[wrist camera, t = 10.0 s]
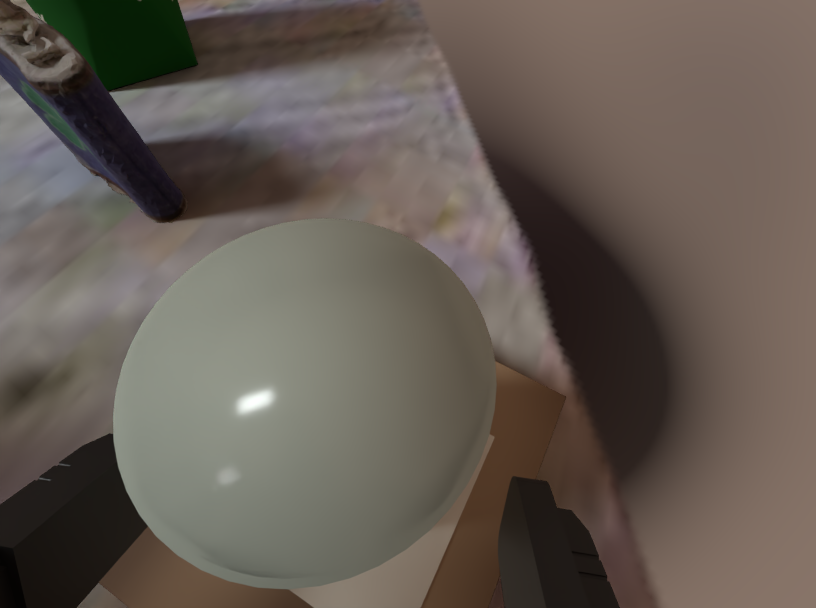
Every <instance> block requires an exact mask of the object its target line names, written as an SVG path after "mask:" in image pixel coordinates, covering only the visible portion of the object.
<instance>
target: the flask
mask: <svg viewBox="0 0 816 608" xmlns="http://www.w3.org/2000/svg"><path fill="white" fill-rule="evenodd" d="M0 75H1V76H2V77H3V78H4V79H5V80H6V81H7V82H8V83H9V84H10V85H11V86H12V88H13V89H14V90H15V91H16V92H17V93H18V94H19V95H20V96H21V97H22V98H23V99H24V100H25V101H26V102H27V104H28V105H29V106H30V107H31V108H32V109H33V110H34V111H35V112H36V114H37V115H38V116H39V117H40V118H41V119H42V120H43V121H44V122H45V124H46V125H47V126H48V127H49V128H50V129H51V130H52V131H53V132H54V134H55V135H56V136H57V137H58V138H59V139H60V140H61V141H62V142H63V143H64V145H65V146H66V147H67V148H68V149H69V150H70V151H71V152H72V153H73V154H74V155H75V157H76V158H77V160H78V161H79V162H80V163H81V164H82V165H83V166H85V167H86V168H87V169H88V170H89V171H90V172H91V174H93V175H94V176H96V174H97V175H98V176H100V177H101V178H103V179H104V180H106V182H107V183H108V186H109V187H111V188H112V190H114V191H116V192H117V193H120V194H125V195H128V196H129V198H130V202H133V203H136V204H137V205H138V206H139V207H140V208H141V211H143V212H144V213H145V215H146V216H147V217H149V218H150V219H151V220H152V221H153V222H169V223H172V222H173V221H174V220H175V219H177V218H178V217H180V216H181V215H183V214H184V212H185V211H186V209H187V208H188V206H187V200H186V199H185V197H184V194H183V193H182V191H180V189H178V188H177V187H176V185H175V184H174V182H173V181H172V180H171V179H170V178H169V177H168V175H167V173H166V172H165V171H164V170H163V168H162V167H161V166H160V164H159V163H158V161H157V160H156V159H155V157H154V155H153V154H152V153H151V151H150V150H149V148H148V147H147V146H146V144H145V143H144V142H143V140H142V139H141V137H140V135H139V134H138V133H137V131H136V130H135V129H134V127H133V126H132V125H131V123H130V122H129V121H128V119H127V118H126V116H125V115H124V114H123V112H122V111H121V109H120V108H119V106H118V105H117V104H116V102H115V101H114V100H113V98H112V96H111V95H110V94H109V92H108V91H107V90H106V88H105V87H104V85H103V84H102V82H101V81H100V79H99V78H98V76H97V75H96V73H95V72H94V70H93V69H92V67H91V66H90V64H89V63H88V62H87V60H86V59H85V58H84V57H83V56H82V54H81V53H80V52H79V51H78V50H77V49H76V48H75V47H74V45H73V44H72V43H71V42H70V41H69V40H68V39H67V38H66V37H65V36H64V35H63V34H61V33H60V32H59V31H57V30H56V29H54V28H53V26H51V25H48V24H47V23H45V22H44V21H42V20H40V19H38V18H35V17H33V16H32V15H30V14H29V13H28V12H27V11H26V10H25V9H23V8H21V7H19V6H17V5H15V4H13V3H12V2H11V1H10V0H0Z"/></svg>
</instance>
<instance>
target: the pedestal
mask: <svg viewBox="0 0 816 608" xmlns="http://www.w3.org/2000/svg"><path fill="white" fill-rule="evenodd" d="M495 365H496V383H497V387H496V400H495V411H494V416H493V420H492V425H491V429H490V434H489V437H488V440H487V443H486V445H485V448H484V451H483V454H482V456H481V459H480V461H479V463H478V465H477V467H476V469H475V471H474V473H473V475H472V477H471V479H470V480H469V482H468V484H467V486H466V487H465V489H464V490H463V491H462V493H461V494H460V496H459V497H458V499H457V500H456V501H455V503H454V504H453V506H452V507H451V508H450V509H449V511H448V512H447V513H446V514H445V515H444V516H443V517H442V518H441V519H440V520H439V521H438V522H437V523H436V524H435V526H434V527H433V528H432V529H431V530H430V531H429V532H427V533H426V534H425V535H424V536H422V537H421V538H420V539H419V540H417V541H416V542H415V543H414V544H413V545H411V546H410V547H409V548H408V549H406V550H405V551H403V552H401V553H400V554H398V555H397V556H395V557H393V558H392V559H390V560H388V561H387V562H385V563H383V564H382V565H380V566H378V567H375V568H373V569H371V570H368V571H366V572H364V573H361V574H359V575H357V576H354V577H352V578H349V579H345V580H341V581H338V582H334V583H330V584H326V585H322V586H316V587H306V588H297V589H273V588H257V587H253V586H248V585H244V584H239V583H235V582H230V581H227V580H224V579H222V578H219V577H217V576H214V575H212V574H210V573H207V572H205V571H202V570H200V569H199V568H197V567H195V566H194V565H192V564H191V563H189V562H187V561H186V560H184V559H183V558H181V557H179V556H178V555H176V554H175V553H174V552H173V551H172V550H171V549H170V548H169V547H167V546H166V545H165V544H164V543H163V542H162V541H161V540H160V539H159V538H157V537H156V536H155V534H154V533H153V532H152V530H151V529H150V528H149V527H147V528H146V529H145V530H144V531H143V532H142V534H141V535H140V536H139V537H138V538H137V539H136V540H135V542H134V543H133V544H132V545H131V546H130V547H129V548H128V550H127V551H126V552H125V553H124V554H123V555H122V556H121V558H120V559H119V560H118V561H117V562H116V563H115V564H114V565H113V567H112V568H111V569H110V570H109V571H108V572H107V573H106V575H105V576H104V577H103V578H102V579H101V580H100V581H99V583H100V584H101V585H102V586H103V587H104V588H106V589H107V590H108V591H109V592H111V593H112V594H113V595H114V596H115V597H117V598H118V599H119V600H120V601H121V602H123V603H124V604H125V605H126V606H127V607H129V608H488V607H489V604H490V601H491V599H492V596H493V593H494V590H495V588H496V585H497V582H498V580H499V577H500V568H499V561H498V536H499V529H500V524H501V519H502V515H503V511H504V506H505V502H506V498H507V493H508V489H509V484H510V481H511V478H512V477H513V476H517V477H523V478H530V479H536V477H537V474H538V472H539V469H540V466H541V464H542V461H543V458H544V456H545V453H546V450H547V448H548V445H549V442H550V439H551V437H552V434H553V431H554V429H555V426H556V423H557V421H558V418H559V415H560V412H561V410H562V407H563V404H564V402H565V399H566V396H564V395H562V394H560V393H558V392H556V391H554V390H552V389H550V388H548V387H546V386H544V385H542V384H540V383H538V382H536V381H534V380H532V379H530V378H528V377H526V376H524V375H522V374H520V373H518V372H516V371H514V370H512V369H510V368H508V367H506V366H504V365H502V364H500V363H498V362H496V361H495Z"/></svg>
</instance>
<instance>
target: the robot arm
mask: <svg viewBox="0 0 816 608" xmlns="http://www.w3.org/2000/svg"><path fill="white" fill-rule="evenodd" d="M147 527H148V525H147V524H146V523H145V522H144V520H143V519H142V518H141V516H140V515H139V513H138V512H137V510H136V508H135V506H134V504H133V502H132V500H131V499H130V497H129V495H128V493H127V491H126V488H125V485H124V482H123V479H122V477H121V474H120V471H119V468H118V463H117V458H116V452H115V446H114V437H113V434H108V435H106V436H103V437H101V438H99V439H97V440H95V441H92V442H90V443H88V444H86V445H83V446H82V447H80V448H79V449H77V450H76V451H75V452H73V453H72V454H70V455H69V456H68V457H66V458H65V459H63V460H62V461H61V462H59V465H58V466H54V467H52V468H51V469H49V470H48V471H47V472H45V473H44V474H42V475H41V476H40V477H39V479H38V480H37V481H36V480H34V481H33V482H31V483H30V484H28V485H27V486H26V487H24V488H23V489H21V490H20V491H19V492H17V493H16V494H14V495H13V496H12V497H10V498H9V499H7V500H6V501H5V502H3V503H2V504H0V608H77V606H78V605H79V604H80V603H81V602H82V601H83V600H84V598H85V597H86V596H87V595H88V594H89V593H90V592H91V590H92V589H93V588H94V587H95V586H96V585H97V584H98V583H99V581H100V580H101V579H102V578H103V577H104V576H105V575H106V573H107V572H108V571H109V570H110V569H111V568H112V567H113V565H114V564H115V563H116V562H117V561H118V560H119V559H120V558H121V556H122V555H123V554H124V553H125V552H126V551H127V550H128V548H129V547H130V546H131V545H132V544H133V543H134V542H135V540H136V539H137V538H138V537H139V536H140V535H141V534H142V532H143V531H144V530H145V529H146V528H147ZM498 561H499V568H500V576H501V584H502V591H503V599H504V607H505V608H620V607H619V605H618V602H617V600H616V597H615V595H614V592H613V590H612V587H611V585H610V582H608V581H607V575H606V572H605V570H604V567H603V565H602V562H601V561H600V560H599V555H598V553H597V550H596V548H595V545H594V543H593V540H592V538H591V535H590V533H589V531H588V530H587V529H586V527H585V526H584V525H583V524H582V523H581V521H580V520H579V519H578V518H577V516H576V515H575V514H574V513H573V512H572V510H566V509H560V508H557V506H556V503H555V500H554V497H553V494H552V491H551V488H550V486H549V484H548V482H547V481H542V480H536V479H530V478H523V477H517V476H513V477H512V478H511V481H510V484H509V489H508V493H507V498H506V502H505V506H504V511H503V515H502V519H501V524H500V529H499V536H498Z"/></svg>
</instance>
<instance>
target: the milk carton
mask: <svg viewBox="0 0 816 608" xmlns="http://www.w3.org/2000/svg"><path fill="white" fill-rule="evenodd" d="M26 1H27V3H28V4H29V5H30V7H31V8H32V9H33V10H34V12H35V13H36V14H37V15H38V17H39V18H40V19H41V20H42V21H44V22H45V23H47V24H48V25H51V26H53V28H54V29H56V30H57V31H59V32H60V33H61V34H63V35H64V36H65V37H66V38H67V39H68V40H69V41H70V42H71V43H72V44H73V45H74V47H75V48H76V49H77V50H78V51H79V52H80V53H81V54H82V56H83V57H84V58H85V59H86V60H87V62H88V63H89V64H90V66H91V67H92V69H93V70H94V72H95V73H96V75H97V76H98V78H99V79H100V81H101V82H102V84H103V85H104V87H105V88H106V90H107V91H109V90H112V89H115V88H119V87H122V86H126V85H129V84H133V83H136V82H140V81H143V80H146V79H150V78H153V77H157V76H160V75H164V74H167V73H170V72H174V71H177V70H181V69H184V68H188V67H191V66H194V65H197V64H198V63H197V60H196V57H195V54H194V51H193V48H192V44H191V41H190V38H189V35H188V32H187V29H186V25H185V22H184V19H183V16H182V13H181V10H180V7H179V3H178V0H26Z"/></svg>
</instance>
